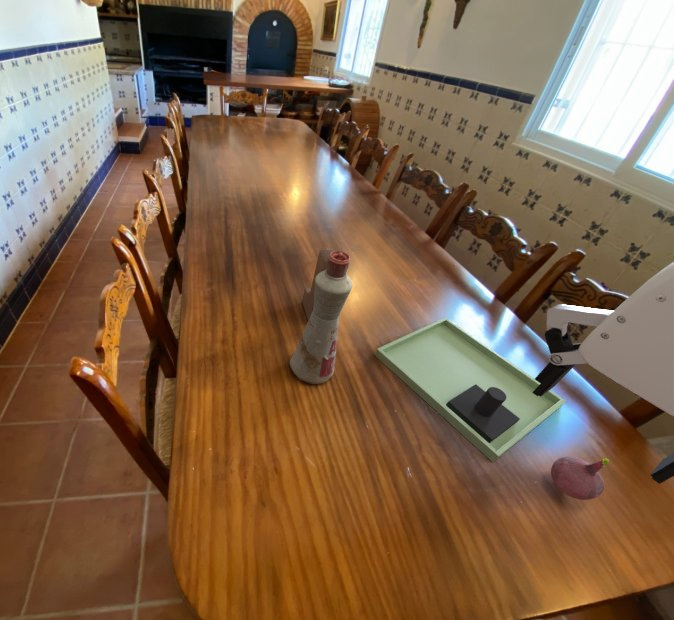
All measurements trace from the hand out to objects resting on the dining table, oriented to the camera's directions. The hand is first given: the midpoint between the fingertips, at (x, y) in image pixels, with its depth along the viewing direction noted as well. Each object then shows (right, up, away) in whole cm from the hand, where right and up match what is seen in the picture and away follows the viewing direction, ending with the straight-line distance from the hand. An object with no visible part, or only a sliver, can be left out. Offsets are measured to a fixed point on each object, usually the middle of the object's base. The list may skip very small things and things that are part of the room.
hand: (595, 427), depth 33 cm
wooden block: (-16, +10, +55) cm, 58 cm away
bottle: (-20, -1, +41) cm, 45 cm away
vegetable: (+18, -18, +25) cm, 36 cm away
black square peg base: (+12, -9, +34) cm, 37 cm away
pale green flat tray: (+12, -4, +41) cm, 43 cm away
